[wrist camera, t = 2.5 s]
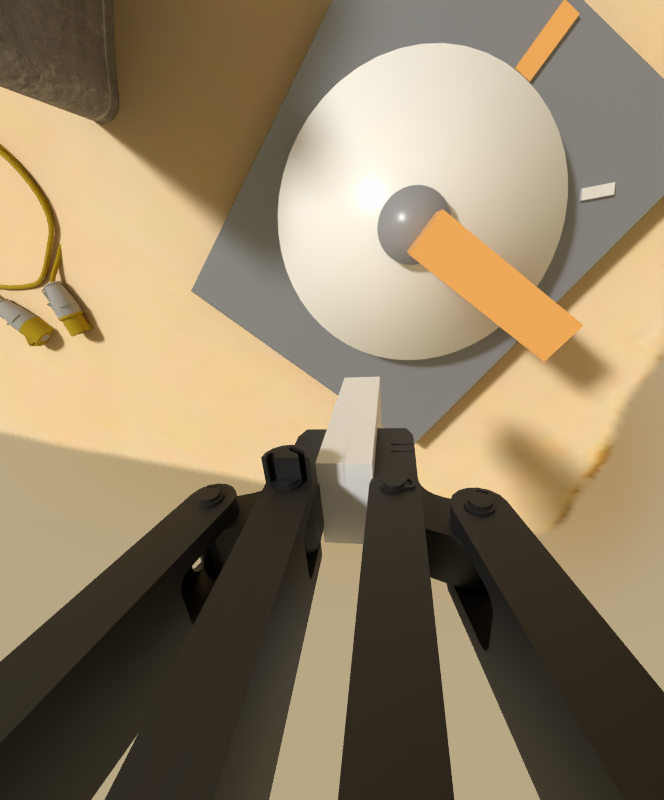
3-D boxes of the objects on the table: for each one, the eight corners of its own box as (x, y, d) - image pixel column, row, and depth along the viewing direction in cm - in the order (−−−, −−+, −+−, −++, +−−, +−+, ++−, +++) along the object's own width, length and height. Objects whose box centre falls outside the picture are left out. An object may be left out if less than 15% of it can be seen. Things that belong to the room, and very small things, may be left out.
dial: (239, 259, 24) (202, 266, 20) (391, -28, 18) (390, -121, 13) (442, 409, 27) (452, 447, 22) (646, 203, 20) (723, 195, 15)
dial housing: (411, -136, 17) (413, -171, 16) (700, 143, 20) (725, 136, 18) (201, 288, 28) (189, 291, 26) (410, 437, 30) (411, 448, 29)
